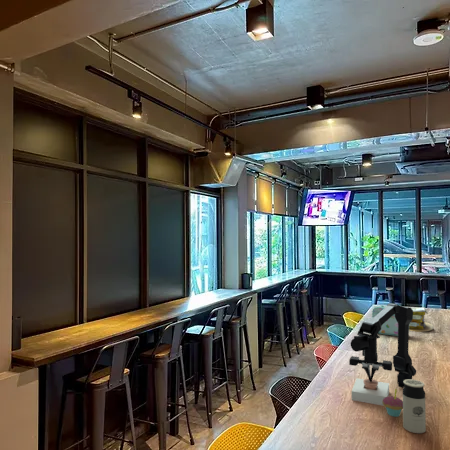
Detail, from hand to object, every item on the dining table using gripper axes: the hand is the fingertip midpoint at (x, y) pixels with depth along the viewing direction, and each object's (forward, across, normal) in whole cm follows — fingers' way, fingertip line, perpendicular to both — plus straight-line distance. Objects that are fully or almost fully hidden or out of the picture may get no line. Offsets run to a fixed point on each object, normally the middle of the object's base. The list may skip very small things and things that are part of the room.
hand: (370, 381), depth 185 cm
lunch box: (+7, -2, -127) cm, 127 cm away
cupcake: (+7, -10, +16) cm, 20 cm away
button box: (+7, 0, 0) cm, 7 cm away
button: (+4, 0, 0) cm, 4 cm away
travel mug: (+7, -18, +26) cm, 33 cm away
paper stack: (+7, -20, -157) cm, 159 cm away
